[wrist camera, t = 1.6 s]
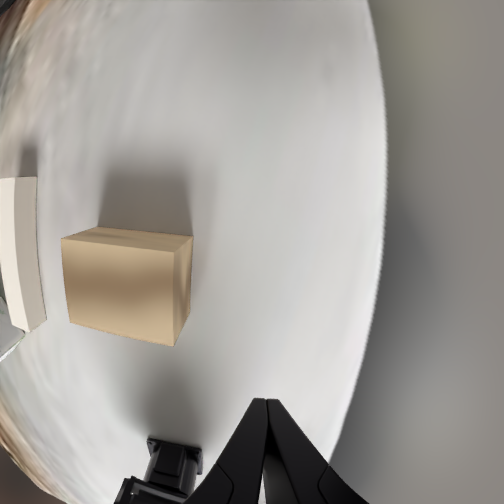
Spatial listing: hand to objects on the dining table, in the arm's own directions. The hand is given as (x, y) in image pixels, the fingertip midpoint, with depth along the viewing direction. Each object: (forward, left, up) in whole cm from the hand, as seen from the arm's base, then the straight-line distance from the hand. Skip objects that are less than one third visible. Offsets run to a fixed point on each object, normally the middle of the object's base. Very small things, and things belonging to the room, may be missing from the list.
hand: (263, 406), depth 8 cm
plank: (0, +22, -12) cm, 25 cm away
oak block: (0, +9, -12) cm, 15 cm away
